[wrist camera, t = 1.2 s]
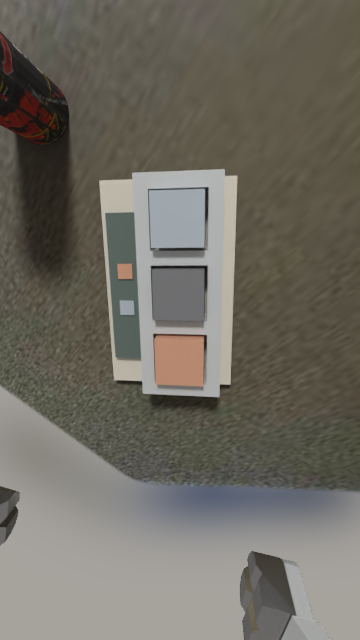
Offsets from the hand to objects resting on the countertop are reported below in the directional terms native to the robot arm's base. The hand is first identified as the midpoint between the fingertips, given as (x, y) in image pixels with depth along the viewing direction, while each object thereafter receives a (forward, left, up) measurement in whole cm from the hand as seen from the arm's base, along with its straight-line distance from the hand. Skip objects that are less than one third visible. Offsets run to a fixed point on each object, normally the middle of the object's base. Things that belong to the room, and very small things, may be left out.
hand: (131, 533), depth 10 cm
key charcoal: (+1, -5, -23) cm, 23 cm away
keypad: (+2, -5, -26) cm, 26 cm away
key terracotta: (+1, +2, -23) cm, 23 cm away
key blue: (+1, -12, -23) cm, 26 cm away
